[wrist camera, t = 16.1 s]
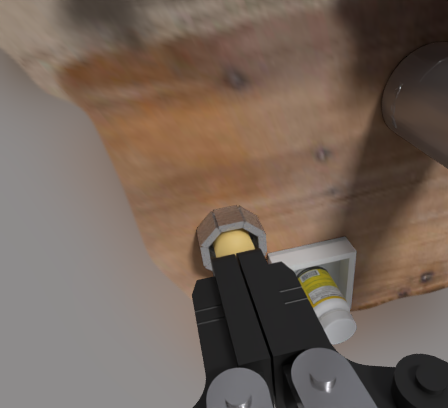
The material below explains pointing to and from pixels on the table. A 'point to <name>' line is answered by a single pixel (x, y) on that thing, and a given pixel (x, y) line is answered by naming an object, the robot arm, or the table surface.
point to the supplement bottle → (327, 303)
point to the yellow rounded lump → (232, 242)
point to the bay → (323, 261)
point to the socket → (225, 222)
